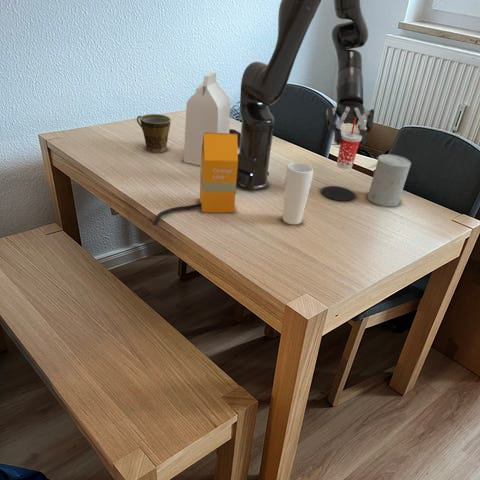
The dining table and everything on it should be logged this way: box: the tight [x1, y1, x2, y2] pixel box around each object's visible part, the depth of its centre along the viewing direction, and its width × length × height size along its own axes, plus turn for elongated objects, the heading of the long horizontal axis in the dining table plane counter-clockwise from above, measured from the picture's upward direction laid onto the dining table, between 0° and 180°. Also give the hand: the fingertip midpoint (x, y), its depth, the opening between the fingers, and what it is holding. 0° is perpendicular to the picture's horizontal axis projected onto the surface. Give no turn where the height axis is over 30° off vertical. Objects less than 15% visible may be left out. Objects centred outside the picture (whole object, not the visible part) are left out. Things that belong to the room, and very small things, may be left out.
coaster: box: [321, 185, 355, 202], centre depth 146 cm, size 10×10×1 cm
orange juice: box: [199, 133, 239, 213], centre depth 127 cm, size 8×9×20 cm
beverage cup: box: [336, 117, 362, 170], centre depth 137 cm, size 6×6×14 cm
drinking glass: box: [281, 162, 314, 226], centre depth 125 cm, size 7×7×15 cm
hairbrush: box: [229, 128, 241, 148], centre depth 174 cm, size 8×4×25 cm
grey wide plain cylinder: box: [367, 153, 412, 208], centre depth 142 cm, size 10×10×12 cm
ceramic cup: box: [136, 113, 172, 153], centre depth 160 cm, size 13×10×10 cm
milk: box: [183, 71, 231, 166], centre depth 151 cm, size 12×12×26 cm
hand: (350, 144), depth 136 cm, fingers closed on beverage cup, 6 cm apart
